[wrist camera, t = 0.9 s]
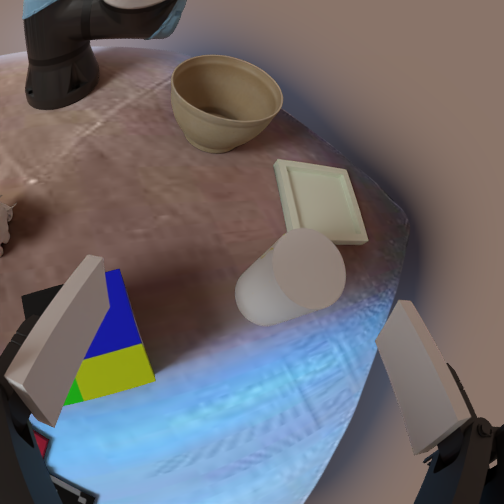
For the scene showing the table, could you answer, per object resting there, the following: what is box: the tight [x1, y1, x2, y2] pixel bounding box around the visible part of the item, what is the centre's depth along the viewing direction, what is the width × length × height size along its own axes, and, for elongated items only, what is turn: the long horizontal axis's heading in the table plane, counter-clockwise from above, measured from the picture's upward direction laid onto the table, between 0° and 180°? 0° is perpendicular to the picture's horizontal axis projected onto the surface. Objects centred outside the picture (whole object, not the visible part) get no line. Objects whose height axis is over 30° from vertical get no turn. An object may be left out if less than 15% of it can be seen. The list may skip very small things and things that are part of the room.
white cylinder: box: [235, 228, 346, 326], centre depth 33 cm, size 8×8×12 cm
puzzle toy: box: [21, 269, 156, 406], centre depth 25 cm, size 10×10×10 cm
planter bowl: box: [171, 55, 283, 153], centre depth 40 cm, size 16×16×11 cm
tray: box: [273, 159, 368, 245], centre depth 46 cm, size 14×14×2 cm
